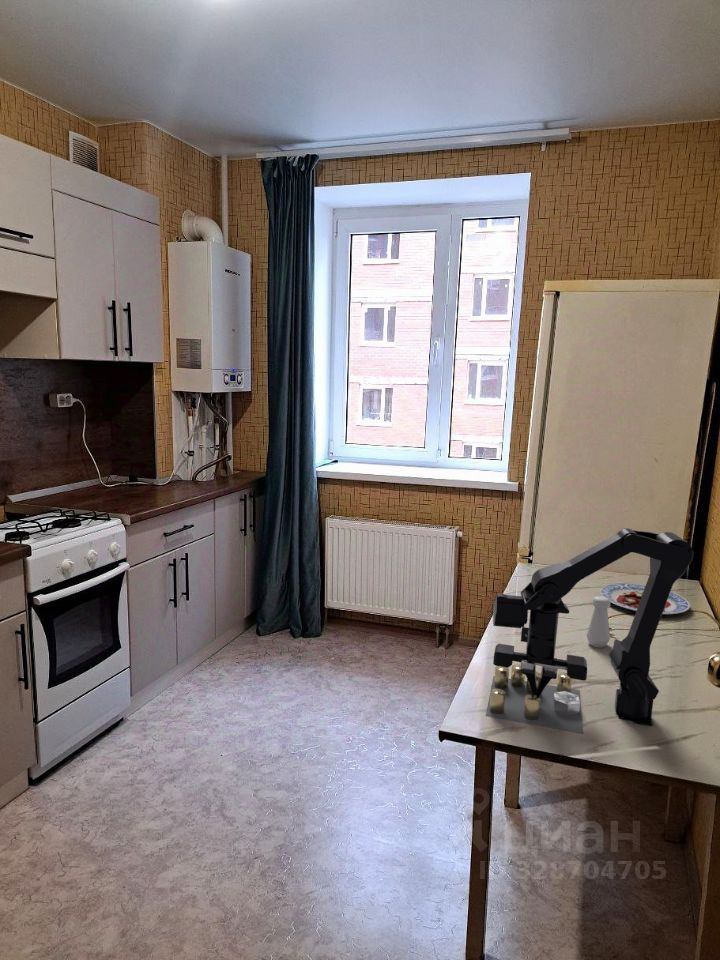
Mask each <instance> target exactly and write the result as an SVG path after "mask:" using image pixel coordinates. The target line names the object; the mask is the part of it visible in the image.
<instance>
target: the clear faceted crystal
mask: <svg viewBox="0 0 720 960" xmlns="http://www.w3.org/2000/svg"><path fill="white" fill-rule="evenodd" d="M553 707H554V710H555V711H558V712H560V713H562V714H565V715H573V714H579V708H580V701H579V697H578V696H577V695H574V694H572V693H569V692H567V691H562V692H556V693H554V696H553Z"/></svg>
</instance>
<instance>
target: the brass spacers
mask: <svg viewBox="0 0 720 960" xmlns="http://www.w3.org/2000/svg"><path fill="white" fill-rule="evenodd" d="M509 673H510V668H509V667H508V668H506V667H500V666H495V670H494V676H495V681H494V686H495V687H497V688H500V689H492V690H491V689H490V691H491V695H490V694H489V696H490V711H491V712H492V713H495V714H502V713H504V707H505V692H504V691H503V690H501V689H506V688H507V687H508V678H509V675H510V679H511V685H512V686H515V687H523V686H524V681H527V685H526V691H527V692H528V693H530V694H532V690H531V687H530V684H529V681H528V679H527V678H526V675H525V674H522V673H521V664H512V665H511V673H510V674H509ZM540 675H541V672H539V671H536V687H538V683H539V679H540ZM525 678H526V679H525ZM572 683H573V679H571V678H570V677H569V676H568V675H567V672H559V673H557V683H556V686H557V692H562V691H567V692H569V693H571V689H572ZM539 711H540V698H539V697H538V696H536V695H526V697H525V708H524V717H525V718H527V719H529V720H538V719H539Z"/></svg>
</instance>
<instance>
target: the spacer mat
mask: <svg viewBox="0 0 720 960" xmlns="http://www.w3.org/2000/svg"><path fill="white" fill-rule="evenodd" d="M494 681H495V675H493V677H492V681H491V687H490V692H489V697H488V701H487V706H486V711H485V716H486V717H489V718H495V719H500V720H505V721H512V722H517V723H523V724H527V725H534V726H539V727H543V728H544V727H545V728H551V729H553V730H554V729H555V730H560V731H565V732H570V733H571V732H572V733H577V734H582V735H583V734H584V724H583V712H582V700H581V690H580V689H574V688H571V693H572V694H574V695H577V696H578V697H579V701H580V708H579V714H573V715H565V714H562V713H560V712H558V711H555V710H554V707H553V696H554V693H556V692H557V685H551V684H547V685H546V687H545V688H544V690H543V692H542V693H541V695H540V697H539V698H540V711H539V719H538V720H529V719H527V718H525V717H524V708H525V697H526V695H533V694H530V693H528V692H527V691H526V685H527V680H525V681H524V686H523V687H515V686H512V685H511V678H509V677H508V687H507V688H506V689H501V690H503V691H504V692H505V707H504V713H502V714H495V713H492V712H491V711H490V695H491V690H492V689H500V688H497V687H495V686H494Z"/></svg>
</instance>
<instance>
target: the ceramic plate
mask: <svg viewBox="0 0 720 960" xmlns="http://www.w3.org/2000/svg"><path fill="white" fill-rule="evenodd" d="M645 586H646V585H645V584H644V585H642V584H636V583H635V584H634V583H615V584H614V583H613V584H608V585H606V586H603V587H602V588H601V589H600V591H599V592H600V596H602V597H606V598H608V599H609V600H610V604H611V603H612V604H614V605H615V606H618V607H621V608H624V609H627V610H631V611H634V612H636V611H637V608H638V606H639V603H640V600H641V597H642V595H643V592H644V589H645ZM690 608H691V604H690V602H689V601H688V600H687V599H686V598H684V597H682V595H679V594H678V593H675V592H672V591H671V592H670V594H669V597H668V600H667V602H666V605H665V608H664V610H663V613H662V615H675V614H677V615H678V614H682V613H685V612H687V611H689V609H690Z"/></svg>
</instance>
